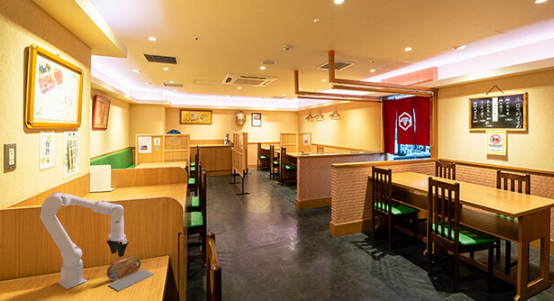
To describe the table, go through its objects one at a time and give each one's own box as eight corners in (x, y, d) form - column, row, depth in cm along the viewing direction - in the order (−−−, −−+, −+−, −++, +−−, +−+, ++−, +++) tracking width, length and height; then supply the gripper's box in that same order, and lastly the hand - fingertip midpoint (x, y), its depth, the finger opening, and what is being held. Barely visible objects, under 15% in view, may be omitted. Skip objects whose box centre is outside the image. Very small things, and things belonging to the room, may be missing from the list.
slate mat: (108, 285, 117) (108, 284, 117) (143, 269, 132) (143, 269, 132) (118, 291, 113) (118, 290, 113) (153, 274, 127) (153, 273, 127)
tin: (108, 283, 119) (108, 266, 119) (105, 281, 121) (105, 264, 121) (141, 271, 131) (140, 255, 131) (138, 269, 133) (138, 253, 133)
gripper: (133, 228, 128) (133, 255, 128) (118, 224, 135) (118, 248, 136) (118, 233, 122) (118, 260, 122) (103, 227, 129) (104, 253, 130)
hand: (117, 254), depth 129 cm, fingers open, 6 cm apart
